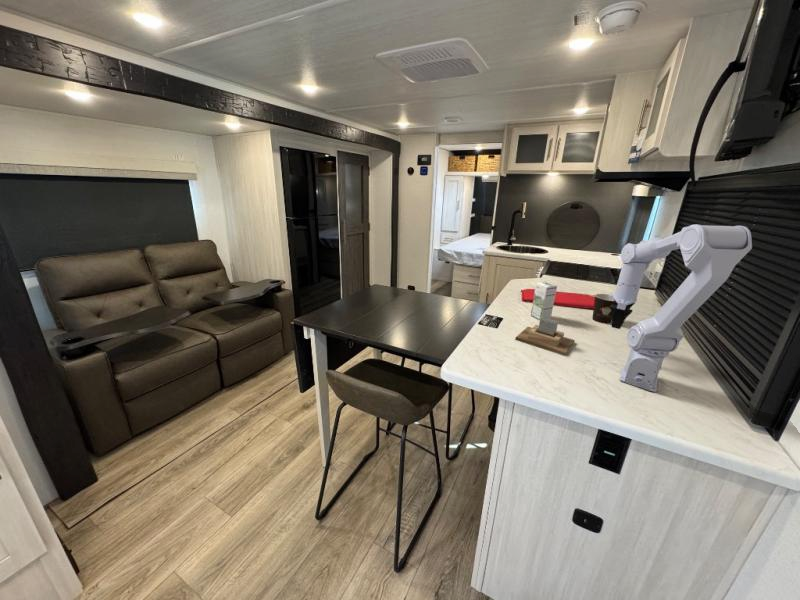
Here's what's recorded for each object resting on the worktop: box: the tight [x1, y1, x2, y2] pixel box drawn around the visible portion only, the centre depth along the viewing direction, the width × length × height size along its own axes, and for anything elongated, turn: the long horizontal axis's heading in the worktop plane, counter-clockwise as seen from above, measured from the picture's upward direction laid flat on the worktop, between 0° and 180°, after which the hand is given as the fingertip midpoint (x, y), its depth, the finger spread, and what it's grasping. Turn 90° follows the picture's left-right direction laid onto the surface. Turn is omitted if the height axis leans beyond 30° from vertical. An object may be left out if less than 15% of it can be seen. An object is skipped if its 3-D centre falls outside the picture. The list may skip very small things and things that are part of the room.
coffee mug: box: [592, 293, 615, 325], centre depth 122 cm, size 12×9×10 cm
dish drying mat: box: [520, 288, 595, 310], centre depth 144 cm, size 16×41×4 cm, turn 72°
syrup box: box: [530, 281, 558, 321], centre depth 124 cm, size 6×6×14 cm
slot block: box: [515, 324, 576, 357], centre depth 106 cm, size 12×16×4 cm
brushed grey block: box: [538, 317, 559, 337], centre depth 105 cm, size 3×5×7 cm, turn 49°
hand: (617, 324), depth 98 cm, fingers open, 7 cm apart
